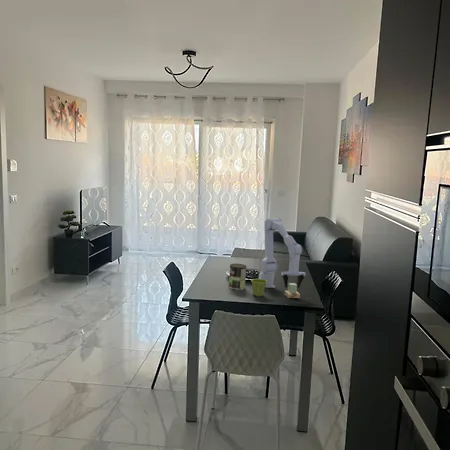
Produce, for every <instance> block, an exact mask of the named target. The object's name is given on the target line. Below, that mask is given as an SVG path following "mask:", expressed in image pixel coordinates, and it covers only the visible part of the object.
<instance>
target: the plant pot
mask: <svg viewBox="0 0 450 450" xmlns="http://www.w3.org/2000/svg"><path fill="white" fill-rule="evenodd" d="M250 281H251V284H252V285H251V286H252V295H253V296H255V297H262V296H263V297H264V293H265V288H266V287H265V285H266V283H267V281H266V280H263V279H259V278H252V279H251V280H250Z"/></svg>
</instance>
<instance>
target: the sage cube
mask: <svg viewBox="0 0 450 450" xmlns="http://www.w3.org/2000/svg"><path fill="white" fill-rule="evenodd" d="M297 289H298V287H297V283H296V282H288V283H287V291H288V292H289V293H296V291H297ZM297 292H298V291H297Z"/></svg>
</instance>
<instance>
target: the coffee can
mask: <svg viewBox="0 0 450 450" xmlns="http://www.w3.org/2000/svg"><path fill="white" fill-rule="evenodd" d="M246 273H247V265H246V264H243V263H230V265H229V277H228V278H229V279H228V288H229V289H231V290H237V291H239V290H240V291H241V290H245V287H246Z"/></svg>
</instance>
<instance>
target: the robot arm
mask: <svg viewBox="0 0 450 450" xmlns="http://www.w3.org/2000/svg"><path fill="white" fill-rule="evenodd" d="M263 224H264V258H263V259H261V262H260V263H261V264H260V271H261V272H259V274H258V279H263V280H266V281H267V283H266V285H265V288H267V289H268V288H276V286H275V284H274V282H275V279H274V278H275V273H276V272H277V270H278V263H277V259H276V258H274V233H275V232H276V231H277V232H278V233H279V234H280V236H282V237H283V242H284V245H286V246H287V248H288V254H289V255H288V257H289V263H288V270H287V271H280V272H281V273H280V275H281V276H282V279H283V282H284V283H283V284H284V288H286V289H288V283H289V282H288V281H289V277H288V276H291V277H292V276H296V277H297V283H296V285H297V289H300V287H301V284H302V282H303V280H304V279H305V277H306V272H304V271H299V267H300V260H301V259H300V258H301V255H302V253H303V251H304V250H303V247H302V245H301V244H299V243H297V242H296V240H295V239H294V237H293V236H292V235H289V234H288V232H287V230H286V228H285V226H284V221H283V220H282V219H281V218H279V217H278V218H277V217H275V218H274V217H273V218H269V217H268V218H266V219H265V220H264V223H263Z"/></svg>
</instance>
